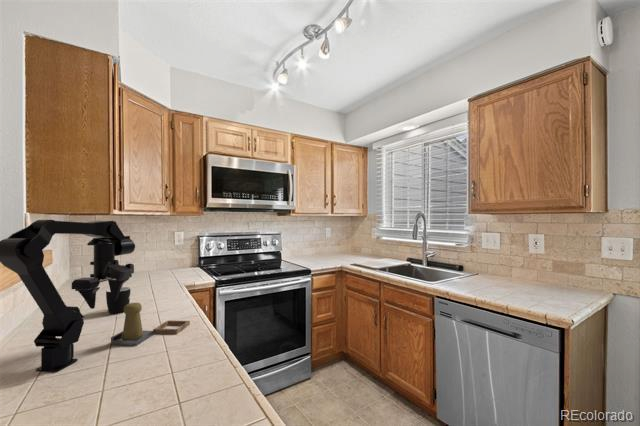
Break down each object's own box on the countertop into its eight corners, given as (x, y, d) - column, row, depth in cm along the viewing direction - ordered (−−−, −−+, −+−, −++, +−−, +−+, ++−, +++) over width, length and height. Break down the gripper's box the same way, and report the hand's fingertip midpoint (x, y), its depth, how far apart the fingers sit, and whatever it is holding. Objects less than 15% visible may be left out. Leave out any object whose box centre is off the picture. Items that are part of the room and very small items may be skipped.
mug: (132, 311, 129) (132, 289, 129) (108, 316, 122) (108, 292, 123) (125, 306, 137) (125, 284, 137) (102, 310, 131) (102, 288, 131)
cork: (132, 339, 95) (132, 306, 95) (117, 338, 97) (117, 305, 97) (147, 332, 101) (147, 301, 101) (132, 331, 102) (132, 300, 103)
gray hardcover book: (136, 345, 94) (136, 337, 94) (110, 344, 95) (110, 337, 95) (153, 334, 103) (153, 327, 103) (129, 334, 103) (129, 327, 104)
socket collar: (176, 334, 104) (176, 329, 104) (153, 333, 104) (153, 329, 104) (189, 324, 113) (189, 320, 113) (167, 324, 113) (167, 320, 113)
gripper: (104, 262, 87) (104, 313, 87) (145, 254, 106) (145, 296, 105) (69, 262, 88) (69, 313, 88) (116, 254, 106) (116, 296, 106)
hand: (104, 304), depth 97 cm, fingers open, 9 cm apart
